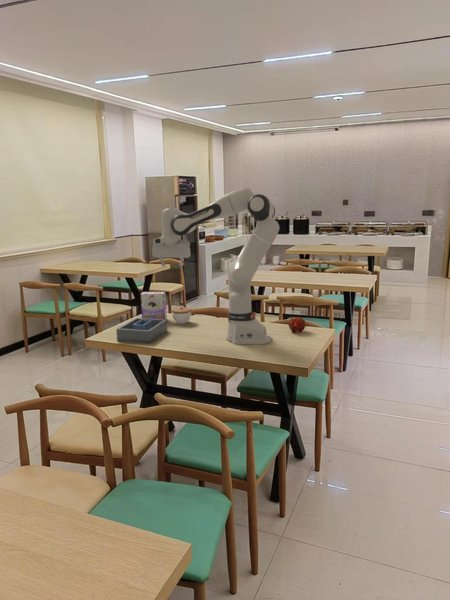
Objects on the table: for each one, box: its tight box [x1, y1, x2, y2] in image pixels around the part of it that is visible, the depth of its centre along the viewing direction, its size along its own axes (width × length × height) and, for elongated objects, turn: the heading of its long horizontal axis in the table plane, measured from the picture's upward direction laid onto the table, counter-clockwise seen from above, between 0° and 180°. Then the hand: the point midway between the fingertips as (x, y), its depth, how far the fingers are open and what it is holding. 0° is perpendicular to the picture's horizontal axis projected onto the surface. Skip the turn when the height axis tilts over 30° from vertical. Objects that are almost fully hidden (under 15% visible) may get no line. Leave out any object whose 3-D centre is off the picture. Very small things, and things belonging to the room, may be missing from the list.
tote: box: [133, 320, 152, 330], centre depth 244 cm, size 6×10×6 cm, turn 164°
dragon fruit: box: [288, 316, 307, 334], centre depth 246 cm, size 8×8×12 cm
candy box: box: [139, 291, 168, 320], centre depth 273 cm, size 14×6×16 cm, turn 84°
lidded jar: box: [171, 306, 192, 325], centre depth 267 cm, size 11×11×9 cm
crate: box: [116, 317, 168, 344], centre depth 244 cm, size 18×22×6 cm
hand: (171, 266), depth 245 cm, fingers open, 8 cm apart
